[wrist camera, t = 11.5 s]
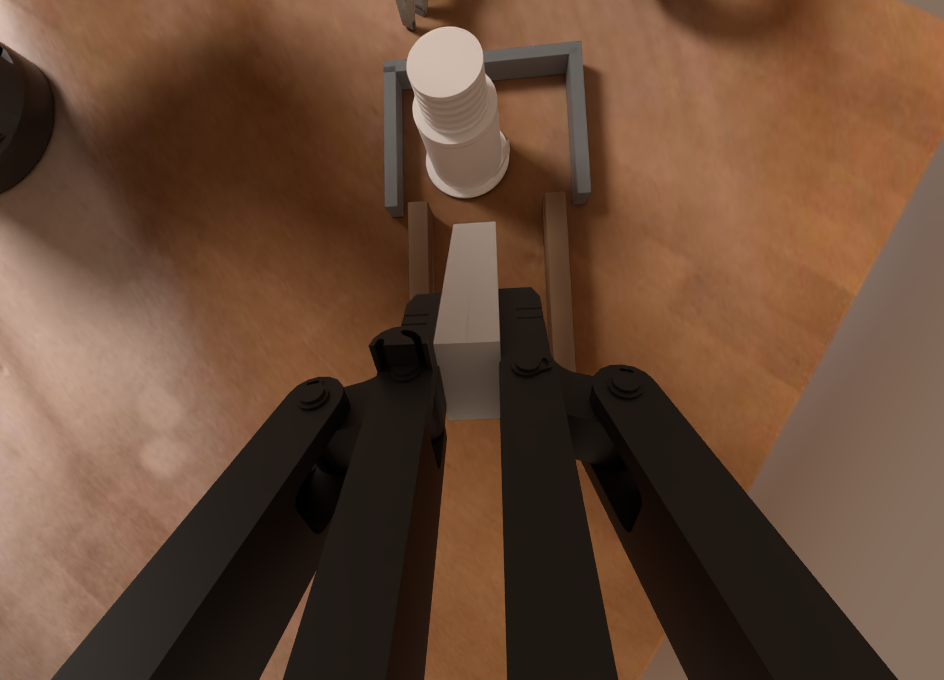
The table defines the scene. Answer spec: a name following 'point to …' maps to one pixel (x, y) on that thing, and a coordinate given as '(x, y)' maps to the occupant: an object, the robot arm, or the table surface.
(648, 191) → the table surface
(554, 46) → the open frame
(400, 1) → the caliper
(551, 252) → the slot
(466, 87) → the downlight
